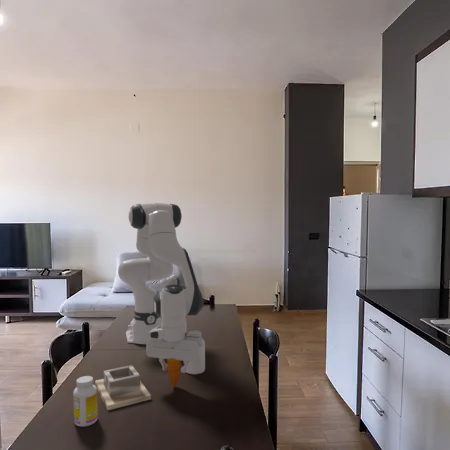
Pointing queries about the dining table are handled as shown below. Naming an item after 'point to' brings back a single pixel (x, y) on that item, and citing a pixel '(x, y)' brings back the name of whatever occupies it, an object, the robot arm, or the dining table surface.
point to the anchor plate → (121, 387)
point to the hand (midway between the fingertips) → (174, 370)
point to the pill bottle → (197, 366)
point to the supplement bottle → (85, 402)
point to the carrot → (174, 370)
